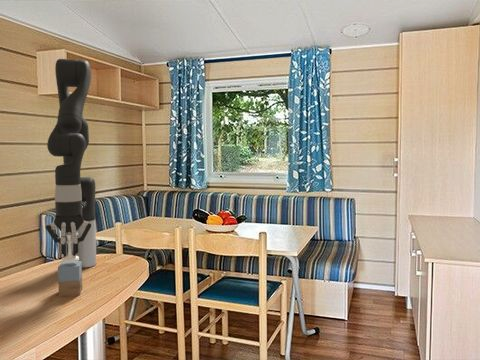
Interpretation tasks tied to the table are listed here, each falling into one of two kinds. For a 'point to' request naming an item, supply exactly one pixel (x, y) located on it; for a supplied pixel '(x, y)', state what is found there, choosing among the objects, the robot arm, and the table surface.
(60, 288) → the walnut block
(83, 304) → the table surface
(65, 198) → the robot arm
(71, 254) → the chess piece
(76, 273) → the slate-blue block
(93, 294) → the table surface
